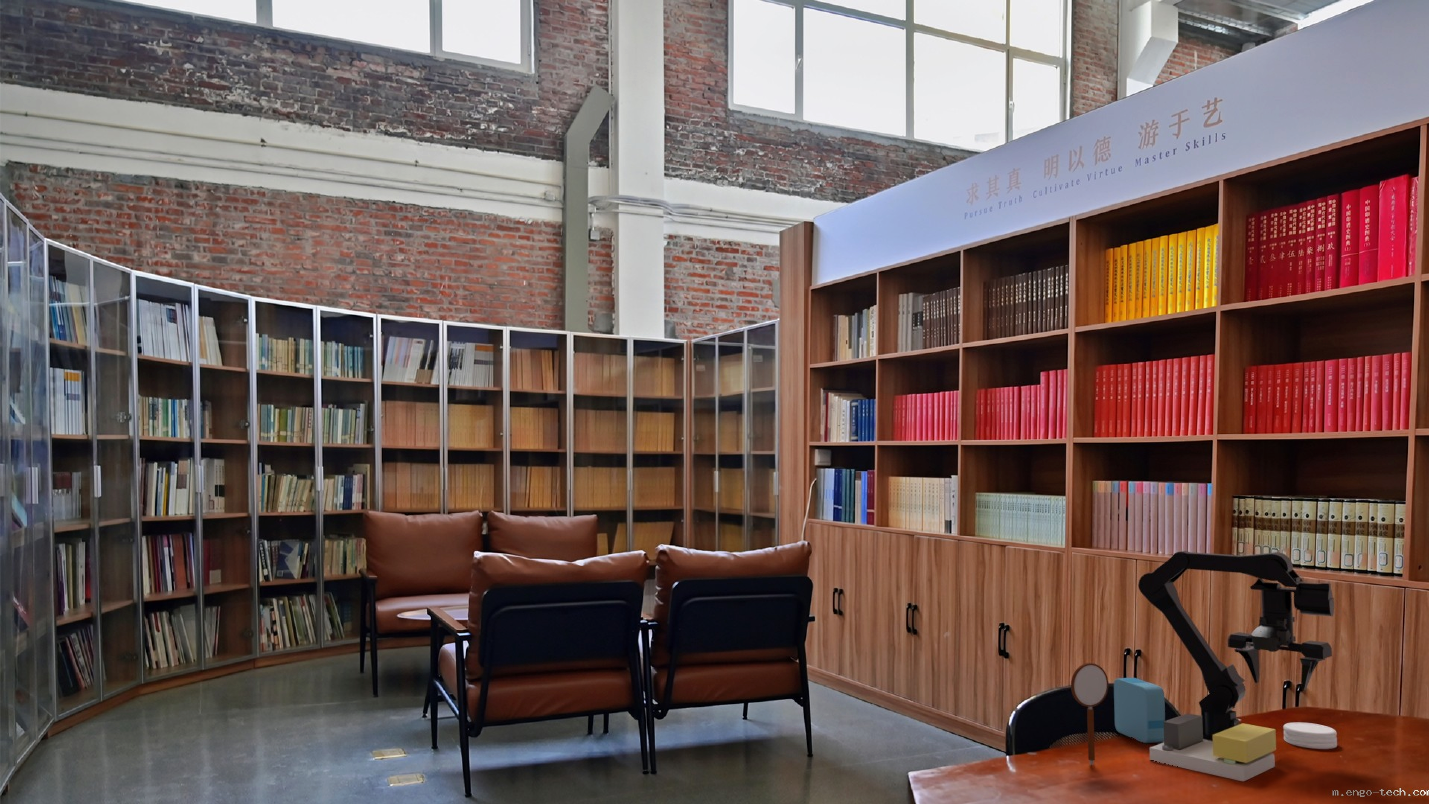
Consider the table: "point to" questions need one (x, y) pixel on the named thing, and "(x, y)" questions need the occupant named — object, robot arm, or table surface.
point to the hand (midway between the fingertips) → (1279, 686)
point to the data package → (1139, 709)
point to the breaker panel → (1210, 761)
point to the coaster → (1310, 735)
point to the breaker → (1183, 731)
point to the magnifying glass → (1089, 695)
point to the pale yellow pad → (1244, 742)
